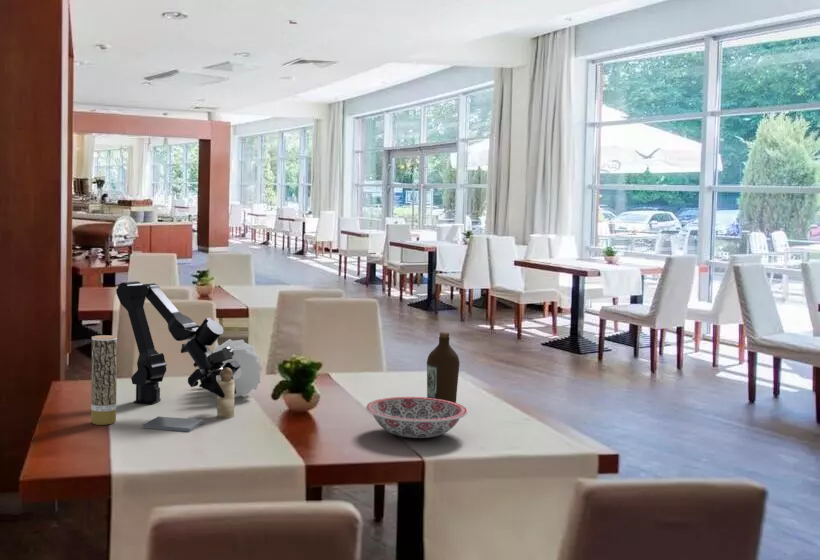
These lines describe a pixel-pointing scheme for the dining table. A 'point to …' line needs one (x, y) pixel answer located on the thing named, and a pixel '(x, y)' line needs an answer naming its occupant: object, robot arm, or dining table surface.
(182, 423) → the slate board
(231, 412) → the pepper mill
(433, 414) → the ceramic bowl
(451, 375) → the olive oil
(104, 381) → the paper tube
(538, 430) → the dining table surface
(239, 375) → the spiral staircase
